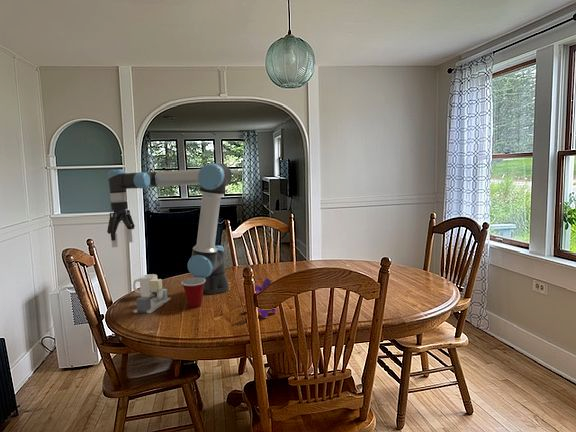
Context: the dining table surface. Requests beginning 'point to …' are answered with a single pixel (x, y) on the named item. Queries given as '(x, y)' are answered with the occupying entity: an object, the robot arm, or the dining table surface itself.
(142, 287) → the cup
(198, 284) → the plastic cup
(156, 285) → the sleeve
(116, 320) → the dining table surface
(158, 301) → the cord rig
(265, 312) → the flower
